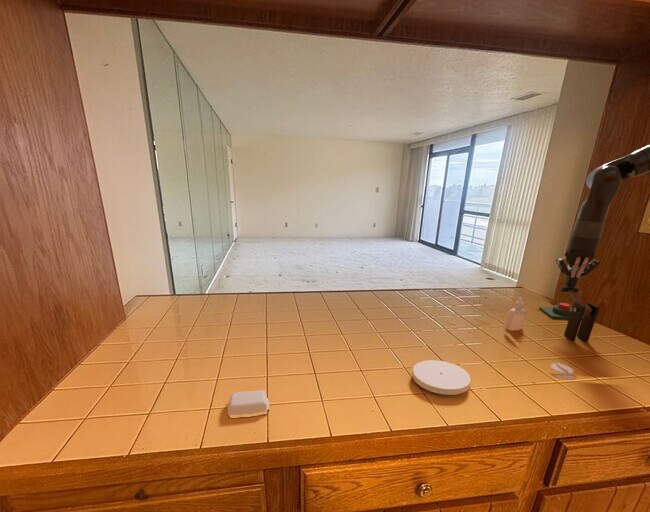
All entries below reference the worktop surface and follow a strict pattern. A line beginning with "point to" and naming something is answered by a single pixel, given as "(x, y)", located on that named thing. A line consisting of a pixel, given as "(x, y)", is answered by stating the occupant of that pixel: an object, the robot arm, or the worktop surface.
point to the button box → (556, 312)
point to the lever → (577, 299)
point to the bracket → (585, 323)
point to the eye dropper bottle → (516, 317)
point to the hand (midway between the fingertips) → (569, 287)
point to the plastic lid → (441, 377)
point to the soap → (248, 402)
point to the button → (564, 306)
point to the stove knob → (563, 371)
